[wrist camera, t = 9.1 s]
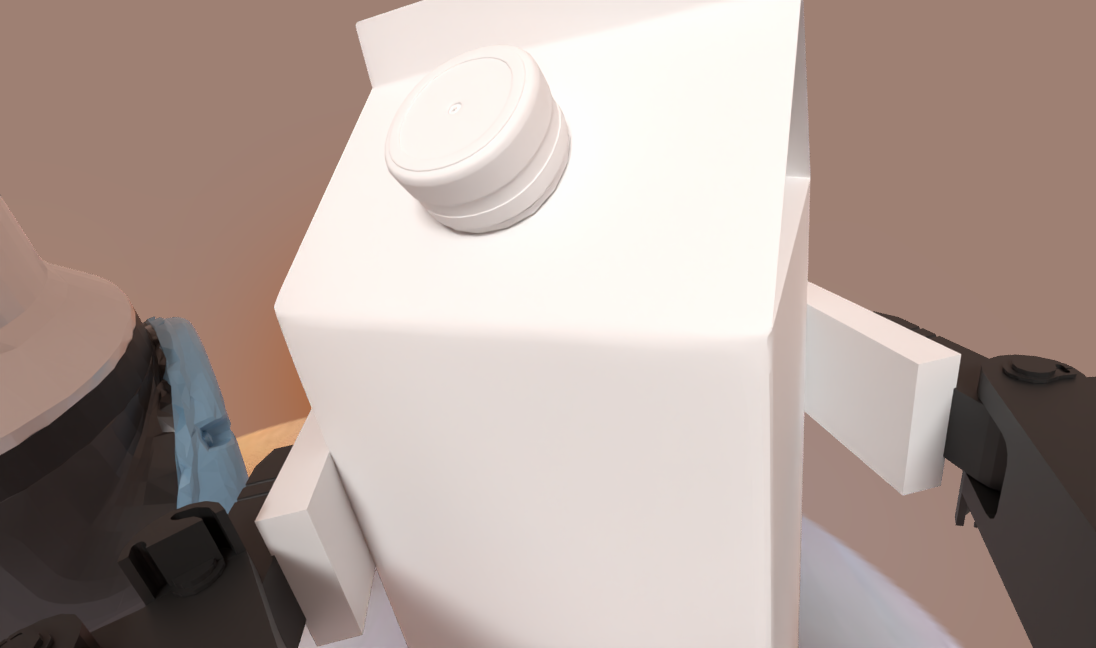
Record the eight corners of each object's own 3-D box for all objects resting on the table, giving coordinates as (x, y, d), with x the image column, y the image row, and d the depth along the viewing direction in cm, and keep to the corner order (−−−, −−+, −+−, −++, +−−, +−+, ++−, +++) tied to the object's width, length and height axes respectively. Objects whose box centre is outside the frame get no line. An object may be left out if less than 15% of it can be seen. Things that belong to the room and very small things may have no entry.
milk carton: (585, 606, 19) (470, 29, 12) (797, 674, 16) (817, -69, 9) (479, 835, 14) (146, 14, 6) (772, 1013, 10) (768, -277, 3)
